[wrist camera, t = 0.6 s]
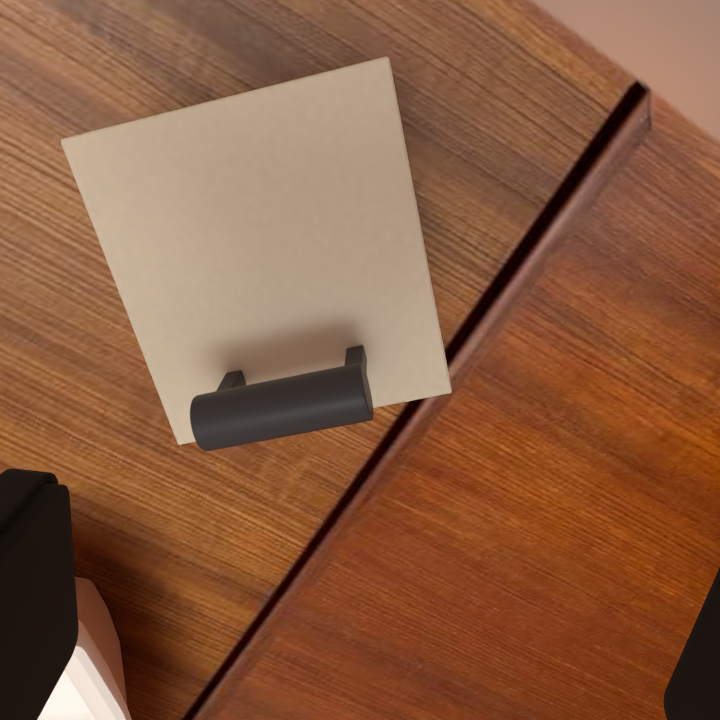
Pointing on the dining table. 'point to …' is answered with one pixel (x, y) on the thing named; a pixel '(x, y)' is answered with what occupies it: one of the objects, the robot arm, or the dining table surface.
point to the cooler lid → (269, 256)
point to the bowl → (91, 666)
